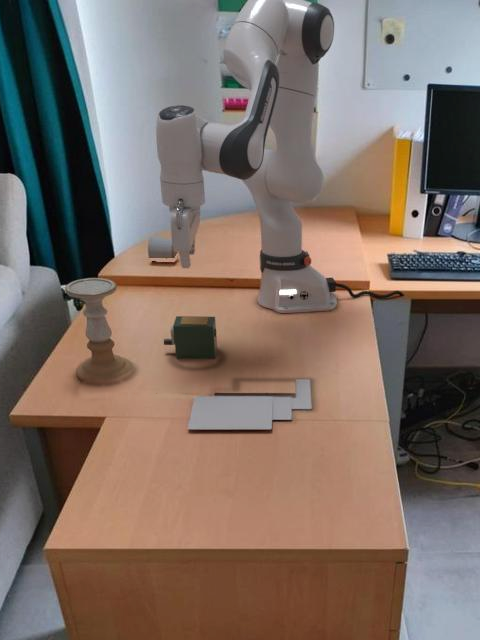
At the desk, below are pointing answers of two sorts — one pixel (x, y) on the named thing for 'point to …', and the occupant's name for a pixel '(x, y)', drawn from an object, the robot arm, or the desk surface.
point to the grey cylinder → (160, 248)
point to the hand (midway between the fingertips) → (188, 260)
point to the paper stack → (248, 408)
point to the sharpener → (194, 337)
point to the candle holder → (97, 330)
